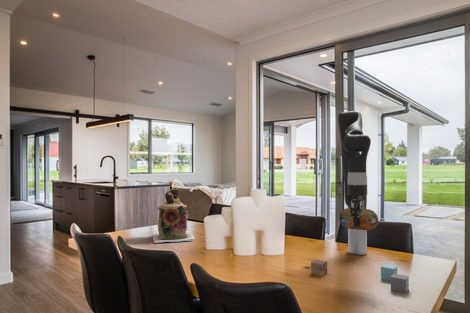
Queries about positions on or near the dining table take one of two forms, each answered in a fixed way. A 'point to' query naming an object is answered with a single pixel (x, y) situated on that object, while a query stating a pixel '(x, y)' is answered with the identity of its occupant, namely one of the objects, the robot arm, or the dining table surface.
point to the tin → (366, 219)
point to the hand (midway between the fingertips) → (357, 225)
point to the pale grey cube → (399, 283)
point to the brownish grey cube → (319, 267)
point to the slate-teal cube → (388, 271)
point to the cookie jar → (172, 220)
